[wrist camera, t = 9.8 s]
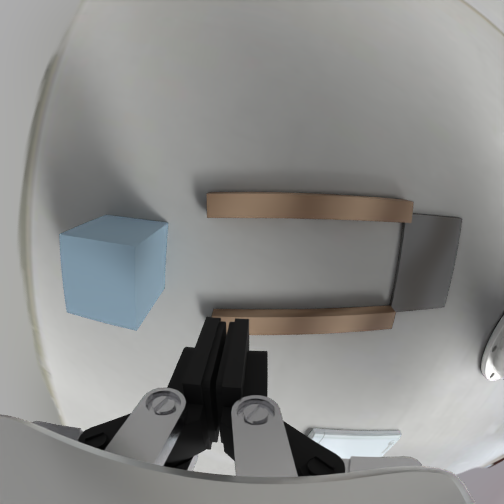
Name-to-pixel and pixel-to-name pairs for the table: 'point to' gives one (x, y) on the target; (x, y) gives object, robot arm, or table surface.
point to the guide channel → (351, 208)
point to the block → (114, 269)
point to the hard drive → (355, 441)
